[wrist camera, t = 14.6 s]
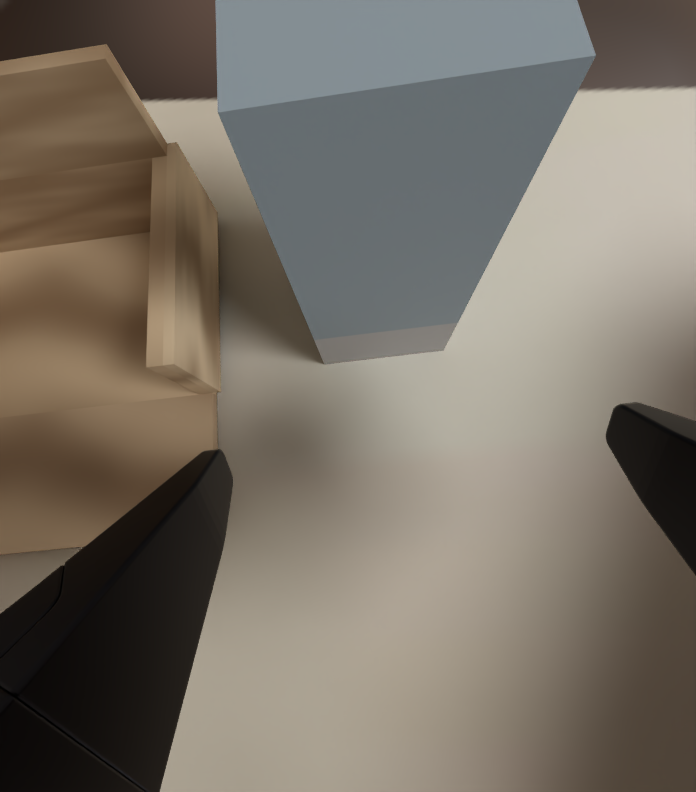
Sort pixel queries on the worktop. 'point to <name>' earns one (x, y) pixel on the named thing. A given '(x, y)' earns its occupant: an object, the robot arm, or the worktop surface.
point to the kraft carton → (97, 302)
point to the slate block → (392, 148)
